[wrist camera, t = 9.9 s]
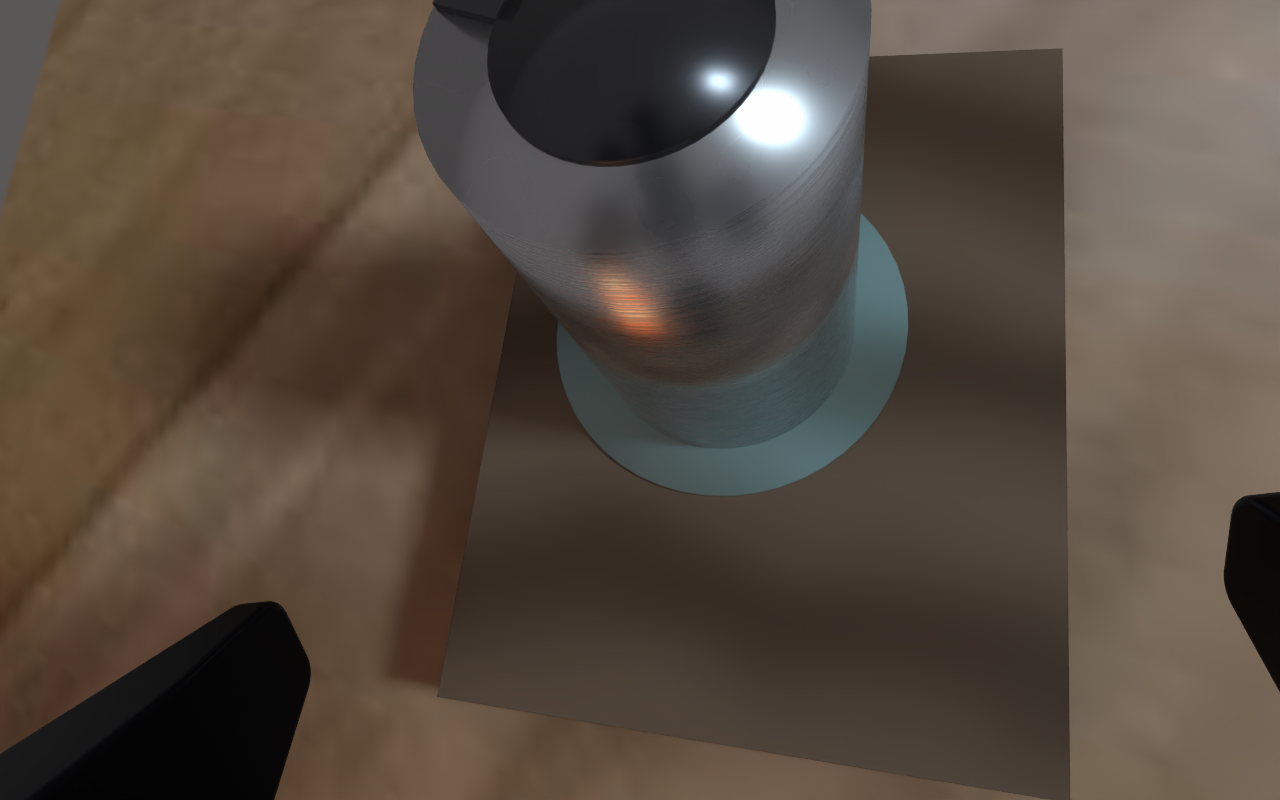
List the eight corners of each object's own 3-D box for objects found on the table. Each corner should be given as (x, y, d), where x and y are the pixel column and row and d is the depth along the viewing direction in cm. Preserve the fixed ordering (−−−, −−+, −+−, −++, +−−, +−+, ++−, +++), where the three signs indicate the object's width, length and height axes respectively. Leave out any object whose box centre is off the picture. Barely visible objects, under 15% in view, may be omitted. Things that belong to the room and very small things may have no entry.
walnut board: (1046, 788, 18) (1071, 804, 16) (471, 693, 22) (435, 697, 20) (1044, 97, 23) (1062, 45, 21) (574, 111, 27) (553, 67, 25)
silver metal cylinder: (794, 489, 19) (749, 313, 9) (564, 394, 21) (329, 166, 12) (893, 257, 21) (946, -118, 11) (666, 187, 23) (533, -180, 13)
